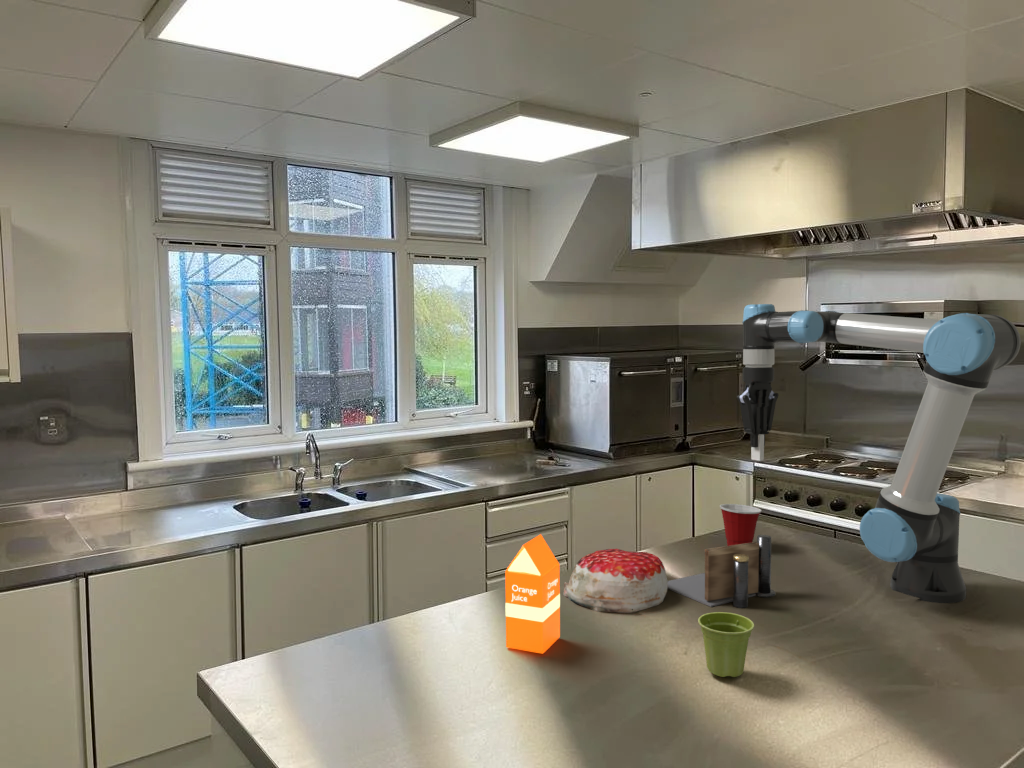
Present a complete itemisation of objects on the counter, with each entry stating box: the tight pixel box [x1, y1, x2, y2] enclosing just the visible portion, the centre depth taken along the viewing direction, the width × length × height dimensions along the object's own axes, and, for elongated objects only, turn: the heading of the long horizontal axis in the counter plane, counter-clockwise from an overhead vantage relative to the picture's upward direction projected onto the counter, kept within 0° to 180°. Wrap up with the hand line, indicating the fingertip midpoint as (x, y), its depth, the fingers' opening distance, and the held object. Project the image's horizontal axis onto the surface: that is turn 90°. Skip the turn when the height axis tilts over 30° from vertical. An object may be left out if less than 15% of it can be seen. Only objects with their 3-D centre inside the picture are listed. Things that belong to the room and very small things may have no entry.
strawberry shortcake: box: [563, 548, 668, 614], centre depth 175 cm, size 23×24×10 cm
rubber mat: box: [667, 572, 757, 608], centre depth 177 cm, size 17×17×1 cm
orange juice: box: [504, 533, 561, 654], centre depth 147 cm, size 8×9×20 cm
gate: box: [704, 541, 759, 601], centre depth 169 cm, size 14×1×11 cm, turn 113°
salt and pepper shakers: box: [732, 534, 776, 609], centre depth 170 cm, size 7×14×13 cm, turn 120°
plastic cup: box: [719, 503, 763, 546], centre depth 207 cm, size 11×11×12 cm
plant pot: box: [697, 611, 755, 678], centre depth 134 cm, size 9×9×9 cm
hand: (757, 459), depth 195 cm, fingers closed
